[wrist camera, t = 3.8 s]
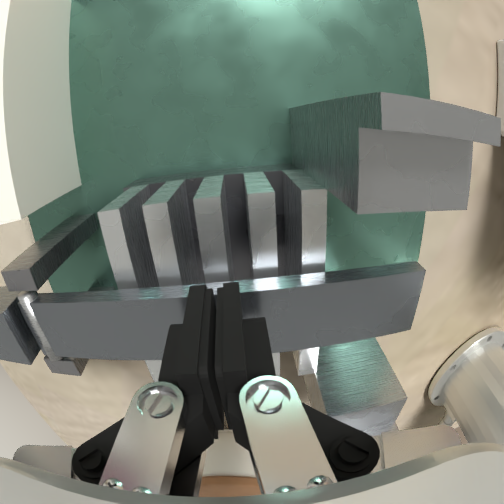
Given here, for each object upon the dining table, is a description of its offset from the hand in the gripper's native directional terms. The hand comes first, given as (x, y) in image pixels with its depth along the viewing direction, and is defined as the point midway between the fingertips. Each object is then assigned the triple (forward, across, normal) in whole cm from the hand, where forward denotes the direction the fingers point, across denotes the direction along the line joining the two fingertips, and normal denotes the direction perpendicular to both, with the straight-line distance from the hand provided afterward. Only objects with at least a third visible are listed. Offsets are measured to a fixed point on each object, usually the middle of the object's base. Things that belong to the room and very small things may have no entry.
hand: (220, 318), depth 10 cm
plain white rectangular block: (+7, +10, -10) cm, 16 cm away
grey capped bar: (+2, +3, 0) cm, 3 cm away
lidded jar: (+8, +3, +25) cm, 26 cm away
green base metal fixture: (+8, 0, -5) cm, 10 cm away
